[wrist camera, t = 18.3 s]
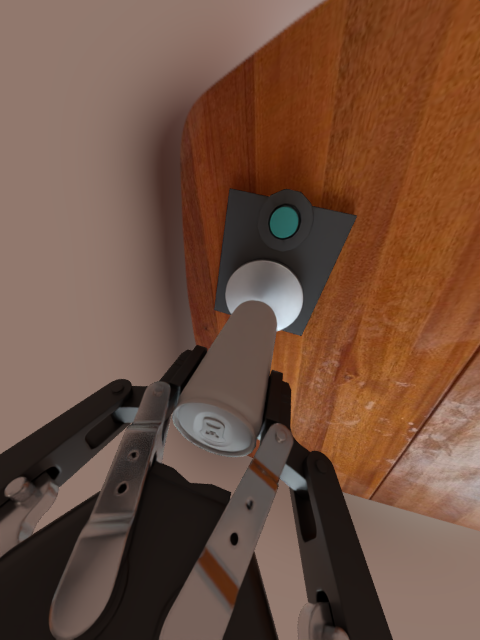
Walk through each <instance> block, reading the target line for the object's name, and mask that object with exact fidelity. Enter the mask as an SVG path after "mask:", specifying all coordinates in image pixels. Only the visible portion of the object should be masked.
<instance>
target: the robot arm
mask: <svg viewBox="0 0 480 640" xmlns="http://www.w3.org/2000/svg"><path fill="white" fill-rule="evenodd" d="M206 353H207V348H205V347H202V346H199V345H197V346H196V347H195V348H194V350H193V351H191V350H186V351H185V352H183V353H182V354H181V355H180V356H179V357H178V359H177V360H176V361H175V362H174V364H173V365H172V366H171V367H170V368H169V370H168V371H167V372H166V373H165V375H164V376H163V377H162V378H161V379H160V381H157V382H154V383H152V384H150V385H149V386H132V385H131V382H130V381H128V380H126V379H118V380H115V381H113V382H111V383H109V384H108V385H106V386H104V387H103V388H101V389H100V390H98V391H97V392H95V393H94V394H92V395H91V396H89V397H88V398H86V399H85V400H83V401H81V402H80V403H78V404H77V405H75V406H74V407H72V408H71V409H70V410H68V411H66V412H65V413H63V414H61V415H60V416H59V417H57V418H55V419H54V420H52V421H51V422H49V423H48V424H46V425H45V426H43V427H42V428H40V429H38V430H37V431H35V432H34V433H32V434H31V435H29V436H28V437H26V438H25V439H23V440H22V441H20V442H19V443H17V444H16V445H14V446H12V447H11V448H9V449H8V450H6V451H5V452H3V453H2V454H0V640H279V639H278V635H277V632H276V628H275V624H274V621H273V617H272V613H271V610H270V607H269V603H268V599H267V595H266V592H265V588H264V584H263V581H262V577H261V574H260V570H259V566H258V563H257V559H256V555H255V552H254V550H255V547H256V545H257V542H258V539H259V537H260V534H261V531H262V529H263V526H264V524H265V521H266V518H267V516H268V513H269V511H270V508H271V505H272V503H273V500H274V498H275V495H276V492H277V489H278V482H279V479H281V480H282V481H284V482H285V483H286V484H287V485H288V486H289V488H290V494H291V500H292V507H293V513H294V519H295V524H296V531H297V537H298V543H299V549H300V555H301V561H302V567H303V573H304V580H305V585H306V591H307V598H308V603H307V604H305V605H304V606H303V608H302V609H301V611H300V614H299V619H298V640H393V639H392V636H391V633H390V630H389V627H388V624H387V621H386V618H385V615H384V613H383V609H382V607H381V604H380V601H379V598H378V595H377V592H376V589H375V586H374V583H373V580H372V577H371V575H370V572H369V569H368V566H367V563H366V560H365V557H364V554H363V551H362V548H361V545H360V543H359V540H358V537H357V534H356V531H355V528H354V525H353V522H352V519H351V516H350V514H349V510H348V508H347V505H346V502H345V499H344V496H343V493H342V490H341V487H340V484H339V481H338V478H337V476H336V473H335V470H334V467H333V465H332V463H331V461H330V460H329V459H328V457H326V456H325V455H324V454H323V453H321V452H319V451H312V452H309V451H308V450H307V449H305V448H304V447H303V446H301V445H300V444H299V443H298V442H297V441H296V440H295V438H294V437H293V435H292V433H291V429H290V419H291V389H290V386H289V384H288V383H287V382H284V381H282V379H283V373H281V372H278V371H275V370H272V371H271V374H270V376H269V382H268V388H267V395H266V401H265V408H264V414H263V420H262V427H261V432H260V434H259V436H258V437H257V439H259V440H260V445H259V448H258V450H257V452H256V454H255V456H254V457H253V459H252V461H251V463H250V465H249V466H248V468H247V470H246V472H245V474H244V476H243V477H242V479H241V481H240V483H239V485H238V487H237V488H236V490H235V492H234V494H233V496H232V498H231V499H230V496H231V492H229V491H227V490H224V489H222V488H220V487H217V486H215V485H212V484H198V483H189V482H188V481H187V480H186V479H185V478H184V477H183V476H181V475H180V474H179V473H178V472H177V471H176V470H175V469H174V468H172V467H170V466H167V465H164V464H162V460H163V452H164V446H165V441H166V437H167V433H168V429H169V424H170V419H171V414H172V413H173V410H174V409H175V407H176V406H177V403H178V398H179V396H180V394H181V393H182V391H183V390H184V388H185V386H186V385H187V383H188V382H189V380H190V378H191V377H192V375H193V374H194V372H195V371H196V369H197V367H198V366H199V364H200V363H201V361H202V360H203V358H204V356H205V355H206ZM130 423H132V424H131V425H129V424H130ZM128 425H129V426H128ZM127 426H128V427H127ZM126 427H127V429H126V431H125V433H124V435H123V438H122V440H121V443H120V445H119V448H118V450H117V452H116V455H115V457H114V460H113V462H112V465H111V467H110V470H109V472H108V475H107V477H106V479H105V482H104V484H103V487H102V489H101V491H99V492H98V493H96V494H95V495H93V496H92V497H90V498H89V499H87V500H85V501H84V502H82V503H81V504H79V505H77V506H76V507H74V508H73V509H71V510H70V511H68V512H67V513H65V514H64V515H62V516H60V517H59V518H57V519H56V520H54V521H53V522H51V523H50V524H48V525H47V526H45V527H44V528H42V529H40V530H39V531H37V532H36V533H34V534H33V531H34V529H35V526H36V524H37V523H38V522H39V520H40V519H41V517H42V516H43V515H44V514H45V513H46V512H47V511H48V510H49V509H50V507H51V506H52V505H53V503H54V501H55V499H56V497H57V495H58V490H59V487H60V486H61V485H62V484H64V483H65V482H66V481H67V480H68V479H69V478H70V477H71V476H73V475H74V474H75V473H76V472H77V471H78V470H79V469H80V468H81V467H82V466H84V465H85V464H86V463H87V462H88V461H89V460H90V459H91V458H93V457H94V456H95V455H96V454H97V453H98V452H99V451H100V450H101V449H103V448H104V447H105V446H106V445H107V444H108V443H109V442H110V441H111V440H113V439H114V438H115V437H116V436H117V435H118V434H119V433H120V432H122V431H123V430H124V429H125V428H126ZM32 534H33V535H32Z"/></svg>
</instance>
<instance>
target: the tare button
mask: <svg viewBox="0 0 480 640" xmlns="http://www.w3.org/2000/svg"><path fill="white" fill-rule="evenodd" d="M297 226H298V216H297V213H296V212H295V211H294V210H293V209H292V208H290V207H281V208H279V209H277V210H276V211H275V212H274V213H273V215H272V217H271V219H270V229H271V231H272V233H273V234H274V235H275V236H277V237H279V238H286V237H289V236H291V235H292V234H293V233H294V232H295V230H296V228H297Z"/></svg>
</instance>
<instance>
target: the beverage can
mask: <svg viewBox="0 0 480 640" xmlns="http://www.w3.org/2000/svg"><path fill="white" fill-rule="evenodd" d="M276 331H277V319H276V315H275V313H274V311H273V310H272V309H271V307H270V306H268V305H267V304H265V303H263V302H261V301H257V300H250V301H246V302H243V303H241V304H240V305H239V306H237V308H236V309H235V310H234V311H233V313H232V315H231V316H230V318H229V319H228V321H227V323H226V324H225V326H224V327H223V329H222V330H221V332H220V333H219V335H218V336H217V338H216V339H215V341H214V342H213V344H212V345H211V347H210V349H209V350H208V352H207V353H206V355H205V356H204V358H203V360H202V361H201V363H200V364H199V366H198V367H197V369H196V371H195V372H194V374H193V375H192V377H191V378H190V380H189V382H188V383H187V385H186V386H185V388H184V390H183V391H182V393H181V394H180V396H179V398H178V403H177V406H176V407H175V409H174V410H173V415H172V419H173V422H174V425H175V426H176V428H177V429H178V431H179V432H180V433H181V434H182V435H183V436H184V437H185V438H186V439H188V440H189V441H190V442H191V443H193V444H195V445H196V446H198V447H200V448H202V449H204V450H206V451H208V452H211V453H214V454H217V455H221V456H227V457H240V456H245V455H247V454H249V453H251V452H252V451H253V450H254V448H255V447H256V439H257V437H258V436H259V434H260V432H261V427H262V420H263V414H264V408H265V401H266V395H267V388H268V382H269V375H270V369H271V362H272V356H273V350H274V343H275V337H276Z"/></svg>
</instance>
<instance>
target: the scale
mask: <svg viewBox="0 0 480 640" xmlns="http://www.w3.org/2000/svg"><path fill="white" fill-rule="evenodd" d="M281 207H290V208H292V209H293V210H294V211H295V212H296V213H297V216H298V226H297V228H296V230H295V232H294V233H293V234H292V235H291V236H289V237H286V238H279V237H277V236H275V235H274V234H273V233H272V231H271V229H270V219H271V217H272V215H273V213H274V212H275V211H276V210H277V209H279V208H281ZM356 217H357V215H352V214H347V213H343V212H338V211H333V210H329V209H324V208H319V207H315V206H312V205H311V203H310V202H309V201H308V199H307V198H306V197H305V196H304V195H303V194H302V193H301V192H299V191H294V190H289V189H284V190H282V191H279V192H277V193H275V194H272V195H271V196H270V197H268V196H263V195H259V194H254V193H249V192H245V191H240V190H235V189H231V188H230V190H229V197H228V205H227V213H226V221H225V229H224V237H223V245H222V253H221V261H220V268H219V276H218V284H217V292H216V300H215V308H214V310H216V311H220V312H223V313H226V314H230V315H231V313H230V311H229V309H228V307H227V303H226V296H225V293H226V287H227V283H228V281H229V279H230V277H231V276H232V274H233V273H234V272H235V271H236V270H237V269H238V268H239V267H241V266H242V265H244V264H245V263H247V262H250V261H253V260H257V259H269V260H274V261H277V262H280V263H282V264H284V265H285V266H287V267H288V268H290V269H291V270H292V271H293V272H294V273H295V275H296V276H297V278H298V279H299V281H300V283H301V286H302V290H303V305H302V308H301V311H300V313H299V315H298V317H297V318H296V319H295V320H294V322H293V323H291V324H290V325H289V326H287V327H286V328H284V329H282V330H283V331H286V332H290V333H293V334H296V335H300V336H302V334H303V332H304V329H305V327H306V325H307V323H308V321H309V319H310V316H311V314H312V312H313V310H314V308H315V306H316V304H317V301H318V299H319V297H320V295H321V293H322V291H323V288H324V286H325V284H326V282H327V280H328V278H329V275H330V273H331V271H332V269H333V267H334V265H335V263H336V260H337V258H338V256H339V254H340V252H341V250H342V247H343V245H344V243H345V241H346V239H347V237H348V235H349V232H350V230H351V228H352V226H353V224H354V222H355V219H356Z"/></svg>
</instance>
